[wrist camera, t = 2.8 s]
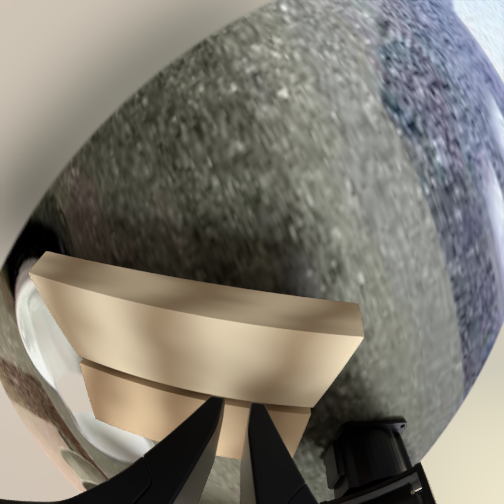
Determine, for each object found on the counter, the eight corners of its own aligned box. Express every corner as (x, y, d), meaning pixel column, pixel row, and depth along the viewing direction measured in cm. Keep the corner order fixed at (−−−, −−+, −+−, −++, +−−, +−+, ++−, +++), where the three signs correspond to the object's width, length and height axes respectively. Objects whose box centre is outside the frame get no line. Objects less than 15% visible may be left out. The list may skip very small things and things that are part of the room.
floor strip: (310, 391, 19) (312, 409, 17) (289, 447, 21) (289, 463, 19) (91, 346, 20) (78, 358, 18) (104, 406, 22) (95, 418, 20)
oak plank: (358, 303, 13) (364, 336, 11) (313, 383, 19) (313, 407, 17) (46, 251, 14) (28, 272, 12) (88, 336, 19) (78, 355, 18)
